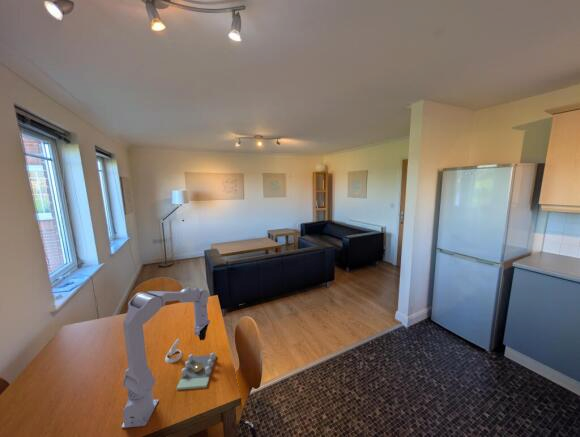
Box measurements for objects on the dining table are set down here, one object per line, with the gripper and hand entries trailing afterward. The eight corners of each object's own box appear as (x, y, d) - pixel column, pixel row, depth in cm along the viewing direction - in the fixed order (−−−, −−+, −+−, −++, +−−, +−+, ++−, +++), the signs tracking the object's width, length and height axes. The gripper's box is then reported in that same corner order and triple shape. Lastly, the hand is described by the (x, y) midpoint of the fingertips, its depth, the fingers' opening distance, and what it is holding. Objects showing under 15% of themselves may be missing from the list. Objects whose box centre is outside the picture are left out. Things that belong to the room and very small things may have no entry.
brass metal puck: (201, 373, 97) (201, 369, 97) (192, 374, 97) (191, 369, 97) (204, 366, 101) (203, 362, 101) (195, 366, 101) (194, 362, 101)
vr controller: (186, 353, 104) (172, 348, 102) (174, 369, 106) (160, 364, 104) (191, 339, 111) (178, 334, 109) (180, 355, 113) (167, 350, 111)
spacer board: (206, 387, 92) (205, 379, 91) (176, 390, 90) (175, 381, 90) (216, 356, 108) (215, 349, 108) (191, 358, 107) (190, 351, 107)
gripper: (205, 321, 98) (206, 349, 100) (213, 304, 112) (214, 329, 114) (188, 322, 97) (190, 350, 99) (199, 305, 111) (200, 330, 113)
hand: (202, 339), depth 106 cm, fingers closed
